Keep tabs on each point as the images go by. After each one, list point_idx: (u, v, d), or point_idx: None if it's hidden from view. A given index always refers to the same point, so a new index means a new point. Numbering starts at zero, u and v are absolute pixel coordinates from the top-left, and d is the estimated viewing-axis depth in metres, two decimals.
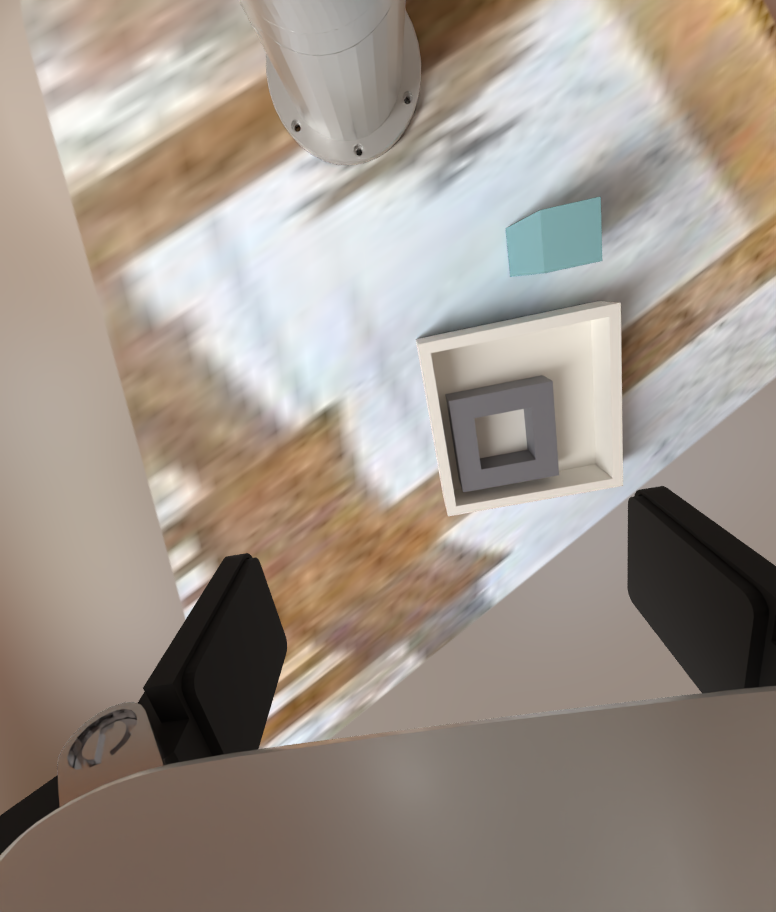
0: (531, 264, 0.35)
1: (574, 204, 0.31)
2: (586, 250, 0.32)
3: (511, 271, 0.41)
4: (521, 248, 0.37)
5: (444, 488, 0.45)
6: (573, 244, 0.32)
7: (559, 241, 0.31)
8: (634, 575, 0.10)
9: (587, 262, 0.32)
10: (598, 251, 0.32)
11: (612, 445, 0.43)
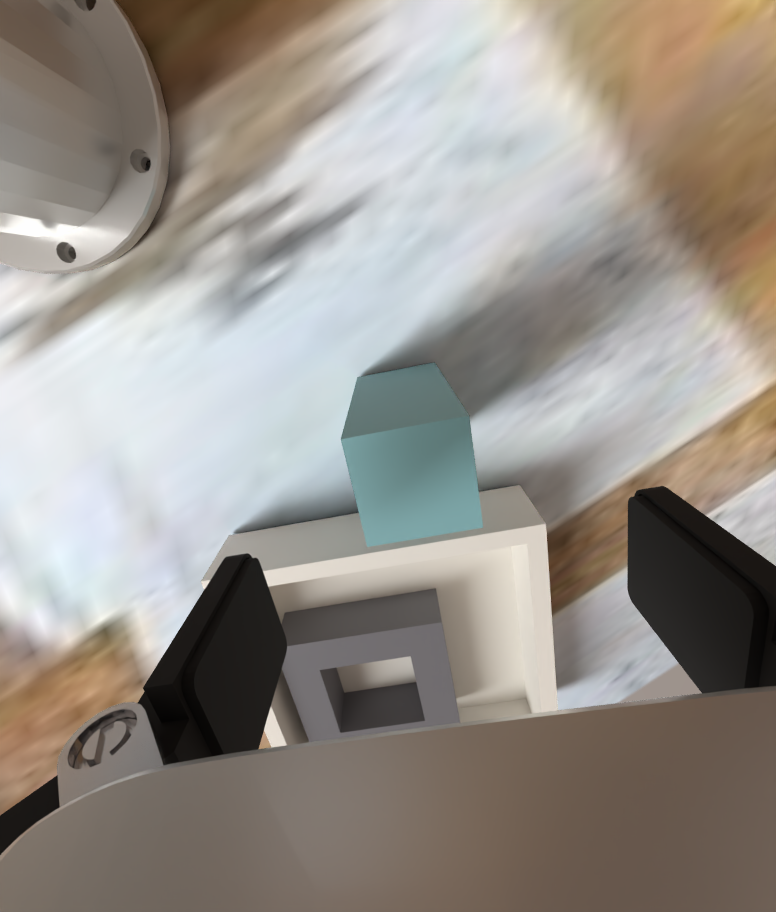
0: None
1: (413, 430, 0.14)
2: (449, 510, 0.15)
3: None
4: None
5: None
6: (419, 499, 0.15)
7: (390, 495, 0.15)
8: (634, 575, 0.10)
9: (453, 529, 0.15)
10: (472, 511, 0.15)
11: None
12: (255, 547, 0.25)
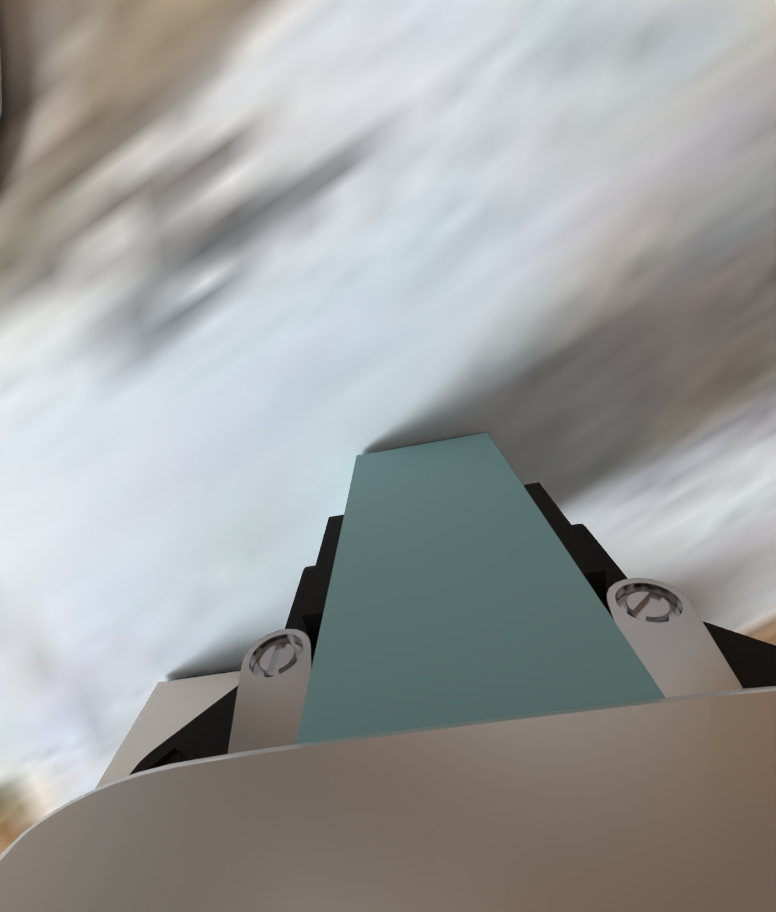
0: None
1: None
2: None
3: None
4: None
5: None
6: None
7: None
8: None
9: None
10: None
11: None
12: None
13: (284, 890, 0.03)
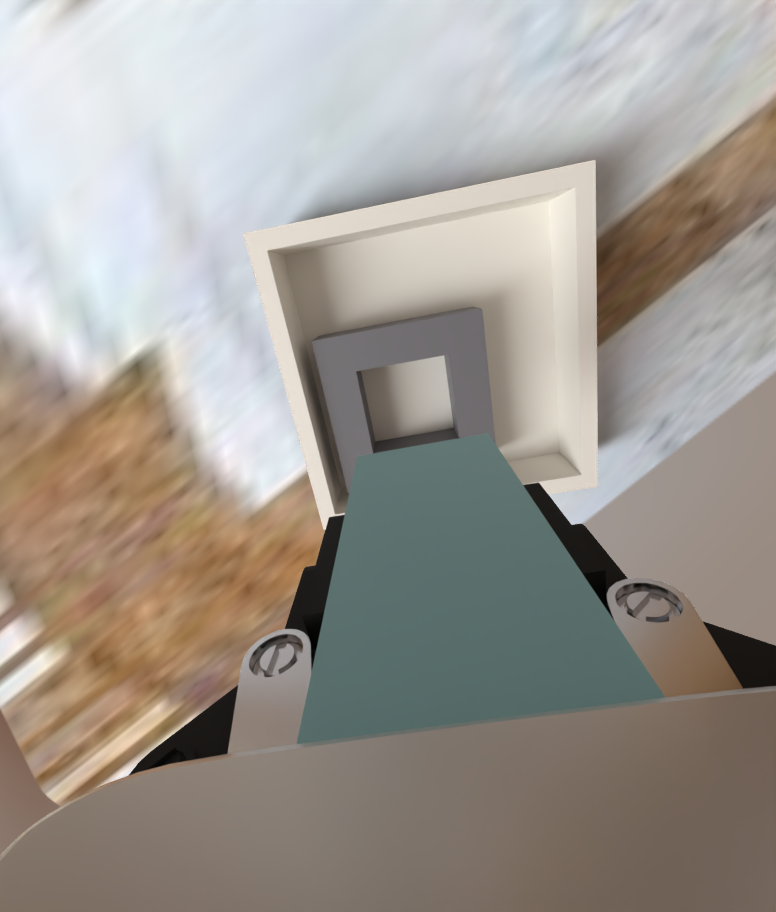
0: None
1: None
2: None
3: None
4: None
5: (313, 486, 0.28)
6: None
7: None
8: None
9: None
10: None
11: (581, 420, 0.26)
12: None
13: (284, 890, 0.03)
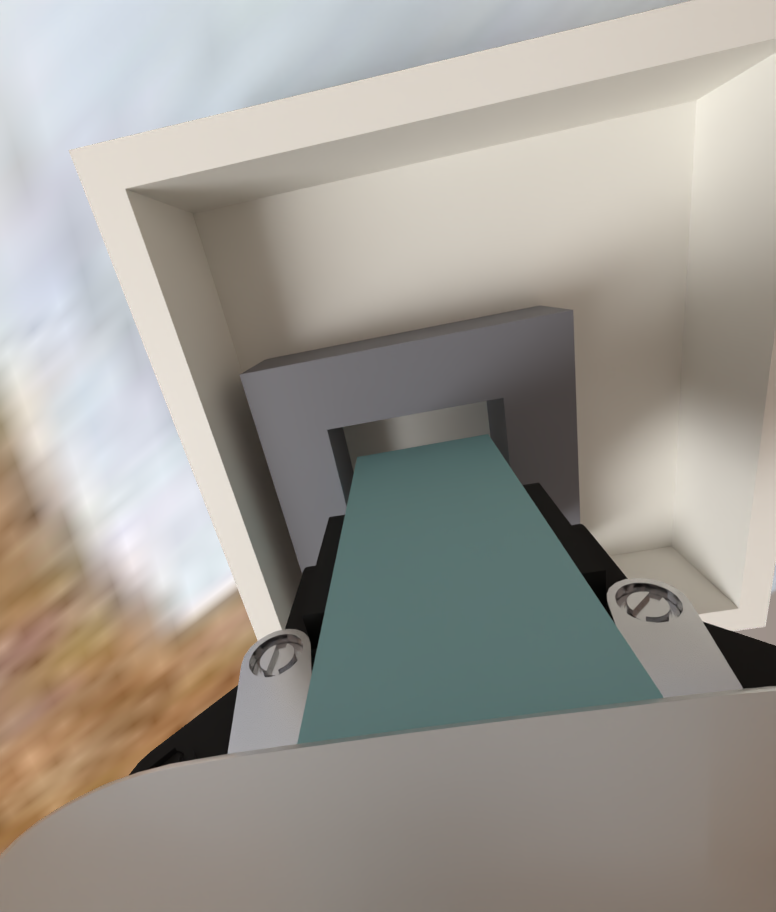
0: None
1: None
2: None
3: None
4: None
5: (256, 627, 0.16)
6: None
7: None
8: None
9: None
10: None
11: (751, 518, 0.14)
12: None
13: (284, 890, 0.03)
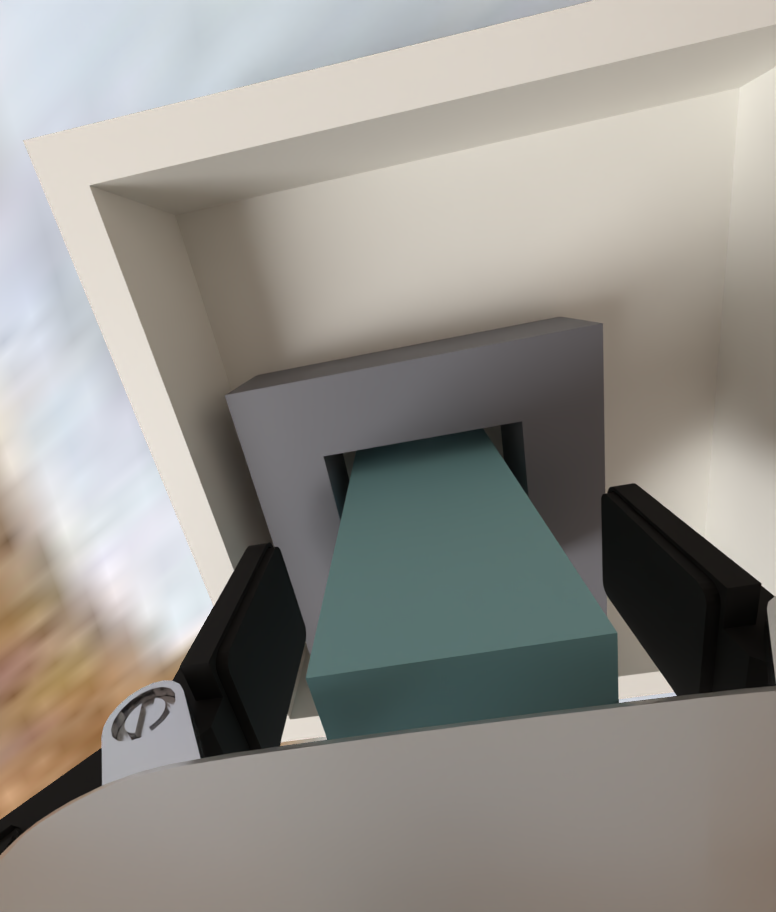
0: None
1: (479, 662, 0.06)
2: None
3: None
4: None
5: None
6: None
7: None
8: (607, 569, 0.11)
9: None
10: None
11: None
12: None
13: (284, 890, 0.03)
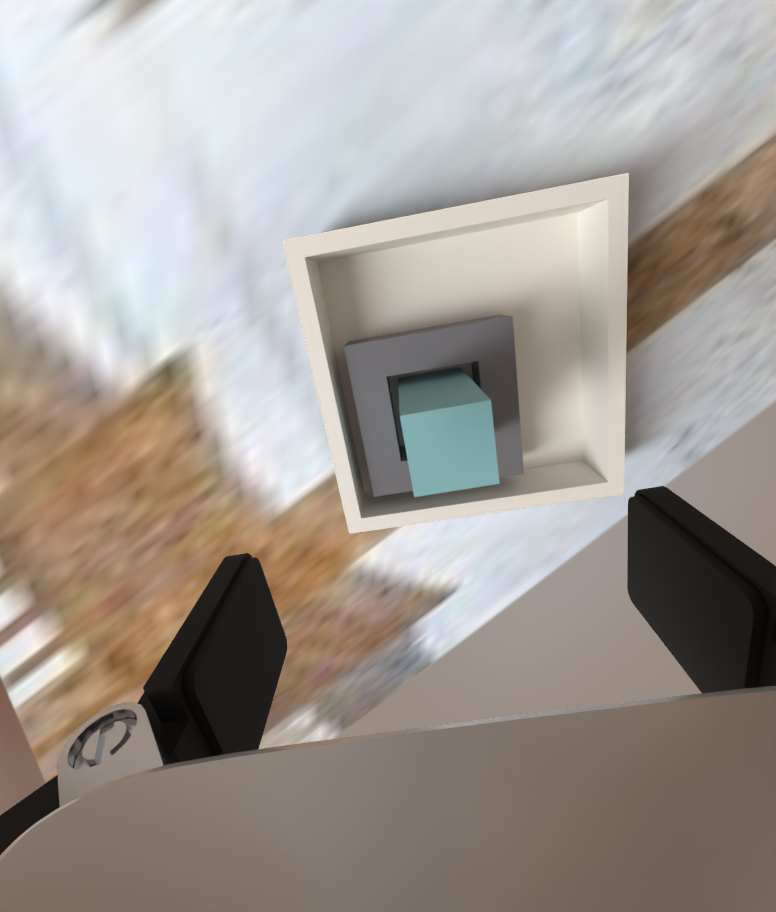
0: None
1: (451, 409, 0.20)
2: (475, 469, 0.21)
3: None
4: None
5: (340, 489, 0.28)
6: (454, 461, 0.21)
7: (432, 457, 0.21)
8: (634, 575, 0.10)
9: (477, 485, 0.21)
10: (492, 471, 0.21)
11: (608, 427, 0.26)
12: None
13: (284, 890, 0.03)
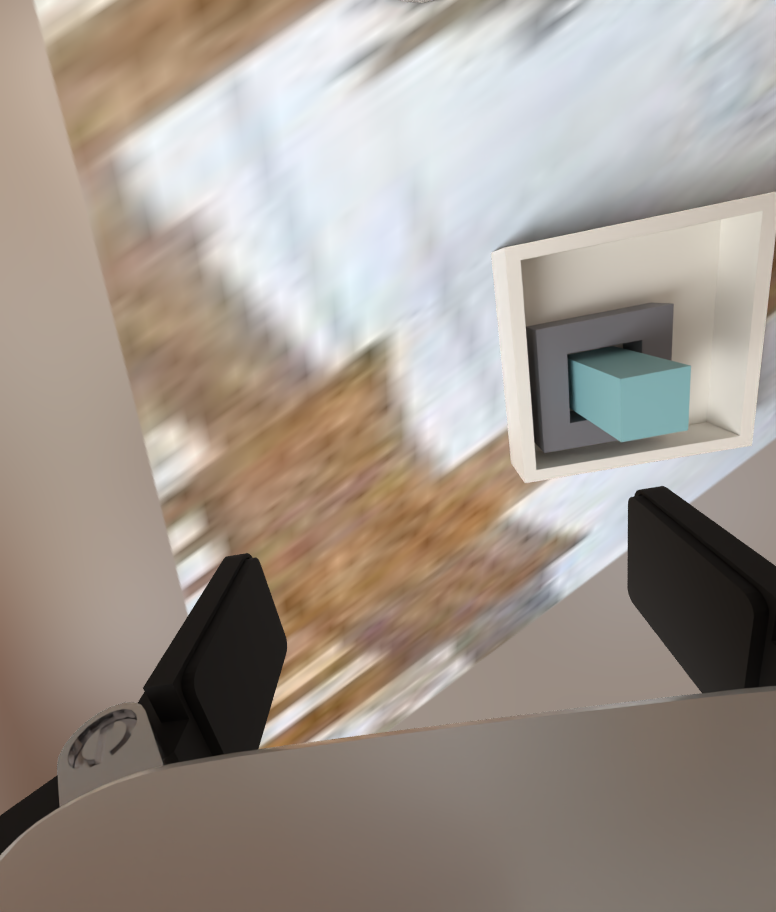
0: (600, 418, 0.31)
1: (660, 373, 0.27)
2: (671, 419, 0.28)
3: None
4: (585, 391, 0.33)
5: (523, 446, 0.35)
6: (656, 413, 0.28)
7: (640, 411, 0.28)
8: (634, 575, 0.10)
9: (671, 431, 0.28)
10: (683, 420, 0.28)
11: (744, 391, 0.33)
12: None
13: (284, 890, 0.03)
